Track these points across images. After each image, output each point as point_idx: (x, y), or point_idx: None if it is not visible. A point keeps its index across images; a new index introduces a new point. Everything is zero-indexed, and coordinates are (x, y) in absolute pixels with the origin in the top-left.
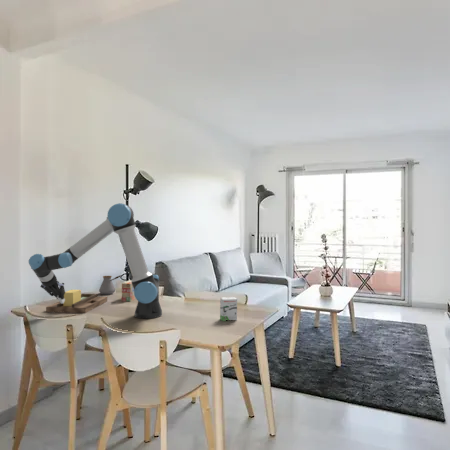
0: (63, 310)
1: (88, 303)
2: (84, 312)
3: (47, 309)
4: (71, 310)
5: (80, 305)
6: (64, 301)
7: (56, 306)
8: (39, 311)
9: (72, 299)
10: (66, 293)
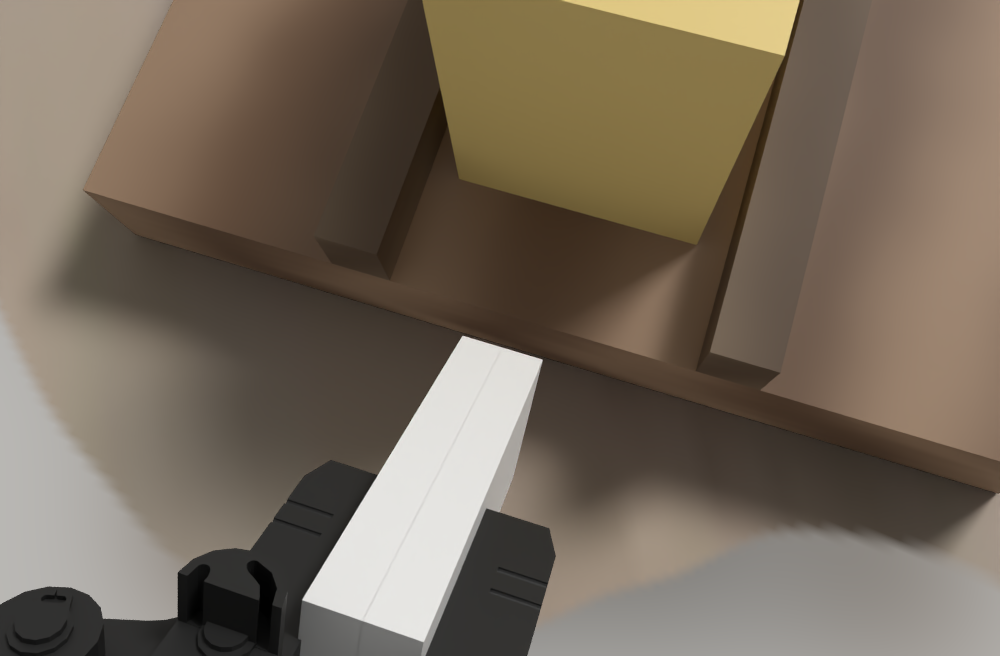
0: (488, 330)
1: (994, 13)
2: (977, 484)
3: (138, 221)
4: (673, 383)
5: (856, 188)
6: (477, 133)
7: (306, 189)
8: (5, 158)
9: (711, 164)
10: (529, 9)
